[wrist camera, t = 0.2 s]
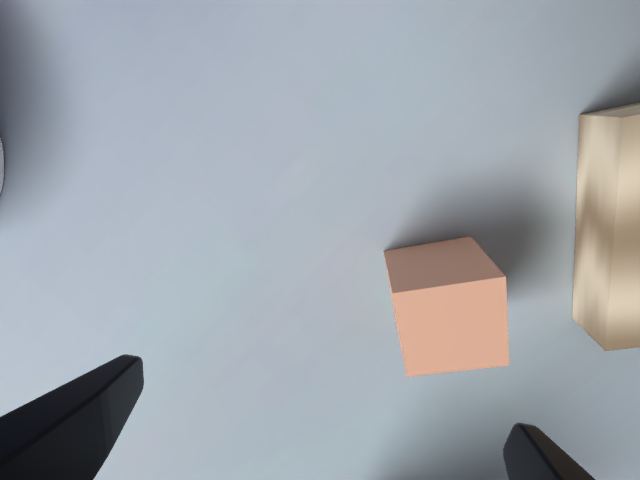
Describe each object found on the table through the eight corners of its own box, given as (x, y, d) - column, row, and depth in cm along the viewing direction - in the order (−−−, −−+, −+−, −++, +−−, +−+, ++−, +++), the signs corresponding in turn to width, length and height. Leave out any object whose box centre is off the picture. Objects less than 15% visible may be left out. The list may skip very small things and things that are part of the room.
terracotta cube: (476, 309, 22) (509, 365, 17) (395, 320, 23) (406, 376, 18) (470, 235, 20) (505, 276, 16) (383, 250, 21) (392, 293, 16)
